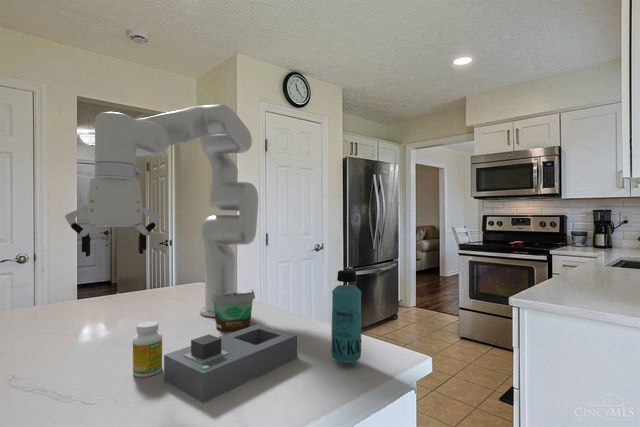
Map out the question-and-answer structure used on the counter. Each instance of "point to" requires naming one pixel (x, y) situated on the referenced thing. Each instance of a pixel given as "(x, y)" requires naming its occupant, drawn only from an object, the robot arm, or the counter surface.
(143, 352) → the supplement bottle
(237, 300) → the food container
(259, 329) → the control panel
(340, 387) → the counter surface
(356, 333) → the beverage bottle
